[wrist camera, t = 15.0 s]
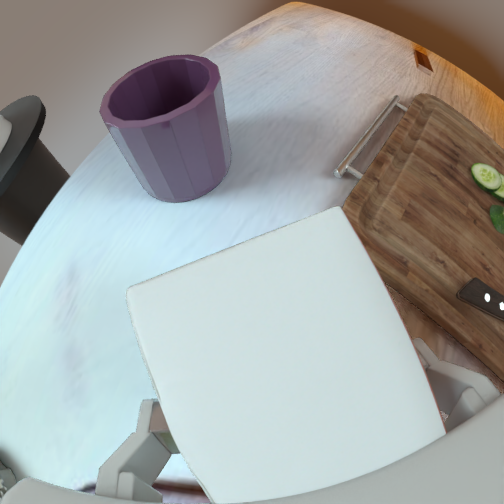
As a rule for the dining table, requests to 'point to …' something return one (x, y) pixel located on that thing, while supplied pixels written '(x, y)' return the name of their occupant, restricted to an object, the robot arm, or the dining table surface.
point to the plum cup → (171, 126)
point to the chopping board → (437, 220)
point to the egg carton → (5, 480)
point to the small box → (284, 363)
